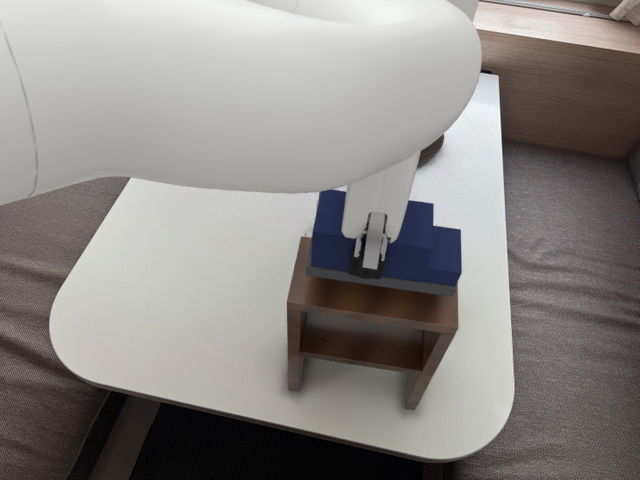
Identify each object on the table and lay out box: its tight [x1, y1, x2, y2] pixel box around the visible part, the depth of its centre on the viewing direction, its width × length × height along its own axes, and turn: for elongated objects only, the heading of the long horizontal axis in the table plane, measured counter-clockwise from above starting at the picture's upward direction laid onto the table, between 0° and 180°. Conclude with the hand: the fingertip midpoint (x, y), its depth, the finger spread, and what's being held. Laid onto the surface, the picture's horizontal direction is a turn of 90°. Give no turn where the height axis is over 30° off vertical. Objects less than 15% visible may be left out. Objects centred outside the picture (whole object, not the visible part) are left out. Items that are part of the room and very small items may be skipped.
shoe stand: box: [286, 236, 459, 411], centre depth 66 cm, size 18×9×24 cm, turn 82°
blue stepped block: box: [305, 189, 463, 297], centre depth 51 cm, size 15×6×7 cm, turn 82°
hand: (367, 248), depth 53 cm, fingers closed on blue stepped block, 5 cm apart
